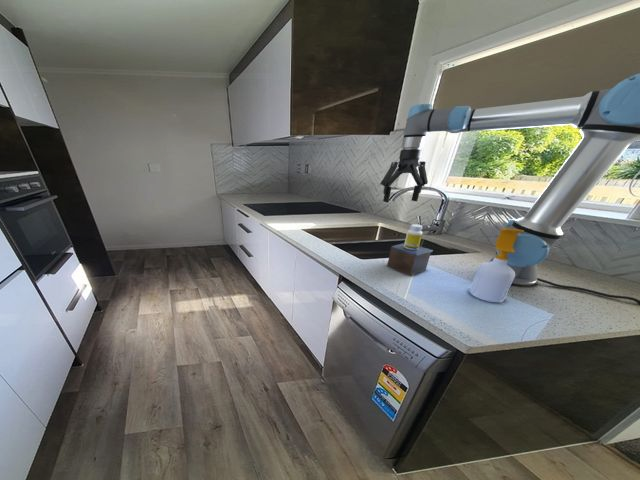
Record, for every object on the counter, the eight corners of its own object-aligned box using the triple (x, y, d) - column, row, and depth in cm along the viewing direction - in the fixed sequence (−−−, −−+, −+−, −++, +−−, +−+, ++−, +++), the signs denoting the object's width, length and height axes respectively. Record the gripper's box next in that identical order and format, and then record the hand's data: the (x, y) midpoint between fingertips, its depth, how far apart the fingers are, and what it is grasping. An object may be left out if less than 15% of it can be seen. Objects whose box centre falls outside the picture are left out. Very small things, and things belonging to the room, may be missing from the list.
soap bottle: (470, 298, 83) (497, 229, 74) (467, 286, 90) (491, 222, 81) (506, 306, 79) (539, 234, 69) (500, 293, 86) (529, 226, 76)
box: (425, 270, 103) (431, 251, 100) (410, 275, 99) (415, 256, 96) (402, 261, 112) (406, 243, 109) (386, 266, 108) (391, 247, 104)
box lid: (432, 251, 100) (432, 250, 99) (416, 256, 95) (417, 255, 95) (406, 243, 109) (406, 242, 108) (391, 247, 104) (391, 246, 104)
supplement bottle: (420, 250, 99) (426, 227, 95) (406, 249, 100) (411, 227, 96) (415, 246, 104) (421, 224, 100) (401, 245, 105) (406, 223, 101)
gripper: (432, 148, 104) (419, 199, 112) (377, 149, 101) (368, 200, 109) (446, 148, 97) (432, 201, 105) (388, 149, 94) (378, 203, 102)
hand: (400, 201), depth 107 cm, fingers open, 13 cm apart
